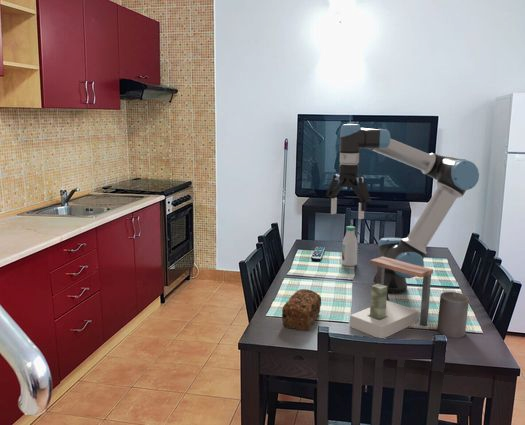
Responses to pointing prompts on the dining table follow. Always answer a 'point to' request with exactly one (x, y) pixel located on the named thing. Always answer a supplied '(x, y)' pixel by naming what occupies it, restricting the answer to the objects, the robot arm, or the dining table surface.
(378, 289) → the peg
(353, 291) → the dining table surface
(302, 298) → the bread
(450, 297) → the pillar candle
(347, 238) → the milk bottle
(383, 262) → the socket stand
